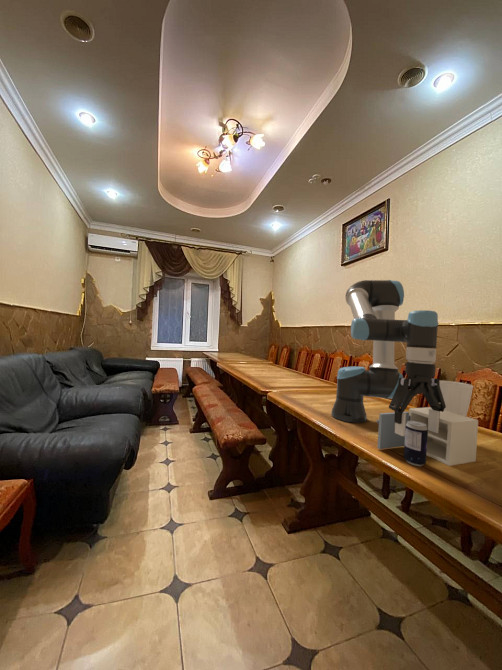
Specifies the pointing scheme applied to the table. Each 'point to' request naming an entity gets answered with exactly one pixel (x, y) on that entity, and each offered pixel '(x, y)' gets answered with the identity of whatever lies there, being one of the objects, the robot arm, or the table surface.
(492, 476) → the table surface
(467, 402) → the cup
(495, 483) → the table surface
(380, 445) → the door
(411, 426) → the beverage can
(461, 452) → the cabinet
